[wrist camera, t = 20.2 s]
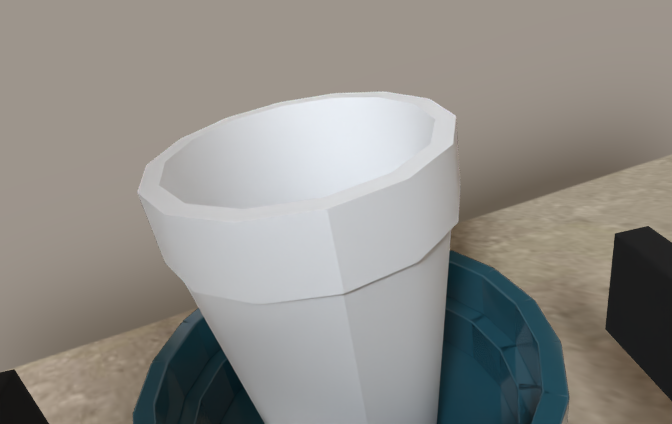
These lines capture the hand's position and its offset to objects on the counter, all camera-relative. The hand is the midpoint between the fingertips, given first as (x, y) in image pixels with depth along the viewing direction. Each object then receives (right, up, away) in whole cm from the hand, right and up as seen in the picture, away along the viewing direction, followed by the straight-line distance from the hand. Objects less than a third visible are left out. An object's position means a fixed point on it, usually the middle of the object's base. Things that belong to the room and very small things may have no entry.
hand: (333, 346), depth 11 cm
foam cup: (+1, -6, +10) cm, 12 cm away
